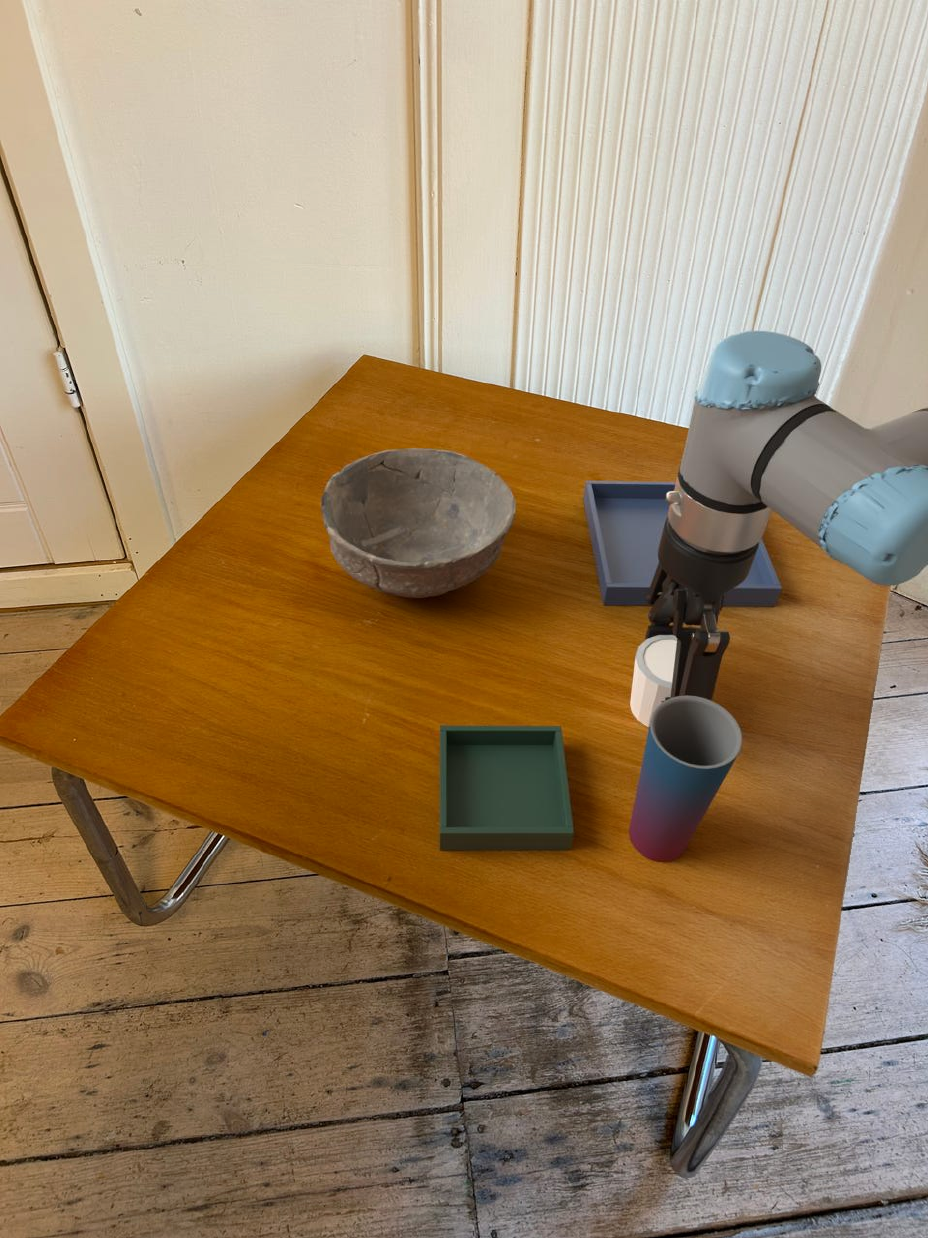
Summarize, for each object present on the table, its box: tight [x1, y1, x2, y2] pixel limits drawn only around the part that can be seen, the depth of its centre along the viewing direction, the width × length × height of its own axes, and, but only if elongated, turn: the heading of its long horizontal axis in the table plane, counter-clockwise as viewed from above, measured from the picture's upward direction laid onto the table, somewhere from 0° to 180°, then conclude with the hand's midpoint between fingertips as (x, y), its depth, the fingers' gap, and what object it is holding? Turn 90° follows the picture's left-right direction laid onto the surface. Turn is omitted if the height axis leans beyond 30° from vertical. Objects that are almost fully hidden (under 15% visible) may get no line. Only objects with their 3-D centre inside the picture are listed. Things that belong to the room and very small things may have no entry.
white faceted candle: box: [629, 635, 677, 728], centre depth 82 cm, size 7×7×7 cm
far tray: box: [582, 480, 783, 608], centre depth 101 cm, size 19×19×3 cm
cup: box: [628, 696, 743, 863], centre depth 69 cm, size 7×7×15 cm
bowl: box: [320, 447, 517, 599], centre depth 95 cm, size 21×21×10 cm
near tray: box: [438, 725, 575, 851], centre depth 76 cm, size 11×11×3 cm
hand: (658, 706), depth 85 cm, fingers open, 8 cm apart
